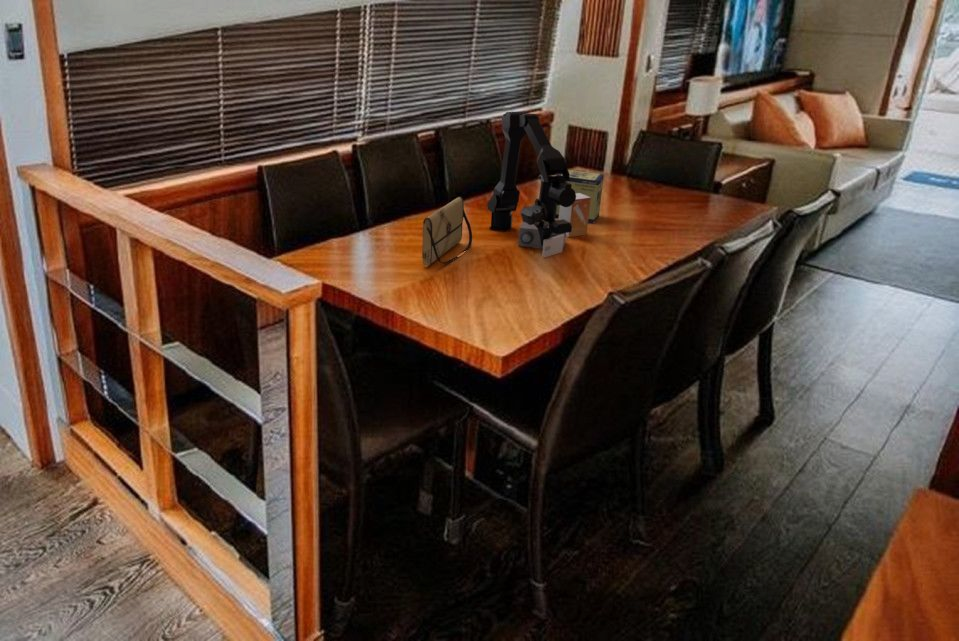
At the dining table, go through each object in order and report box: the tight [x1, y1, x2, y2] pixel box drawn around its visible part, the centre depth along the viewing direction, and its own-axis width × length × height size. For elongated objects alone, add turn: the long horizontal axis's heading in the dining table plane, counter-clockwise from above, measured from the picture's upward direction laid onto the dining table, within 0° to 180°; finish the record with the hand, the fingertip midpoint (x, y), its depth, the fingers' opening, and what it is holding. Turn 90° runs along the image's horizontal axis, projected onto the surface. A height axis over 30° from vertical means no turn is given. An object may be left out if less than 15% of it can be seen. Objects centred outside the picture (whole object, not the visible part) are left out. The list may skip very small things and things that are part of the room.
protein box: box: [555, 169, 605, 224], centre depth 282 cm, size 10×16×16 cm
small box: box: [558, 193, 591, 238], centre depth 264 cm, size 8×6×13 cm
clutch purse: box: [421, 196, 473, 267], centre depth 237 cm, size 30×7×15 cm, turn 161°
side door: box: [541, 234, 565, 259], centre depth 244 cm, size 10×1×6 cm, turn 136°
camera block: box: [517, 221, 567, 249], centre depth 252 cm, size 14×10×7 cm
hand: (543, 245), depth 244 cm, fingers closed
